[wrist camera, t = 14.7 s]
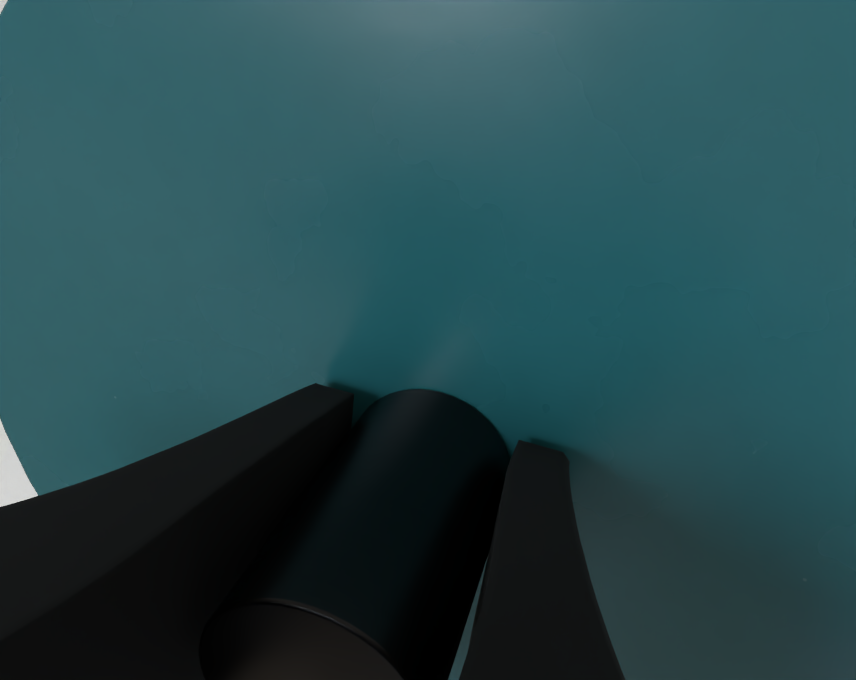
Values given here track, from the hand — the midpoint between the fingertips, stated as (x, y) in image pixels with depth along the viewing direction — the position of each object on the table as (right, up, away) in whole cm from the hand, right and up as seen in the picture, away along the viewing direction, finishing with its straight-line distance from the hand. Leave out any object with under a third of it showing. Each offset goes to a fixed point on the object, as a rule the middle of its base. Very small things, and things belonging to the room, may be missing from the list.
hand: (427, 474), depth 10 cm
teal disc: (0, 0, +1) cm, 1 cm away
